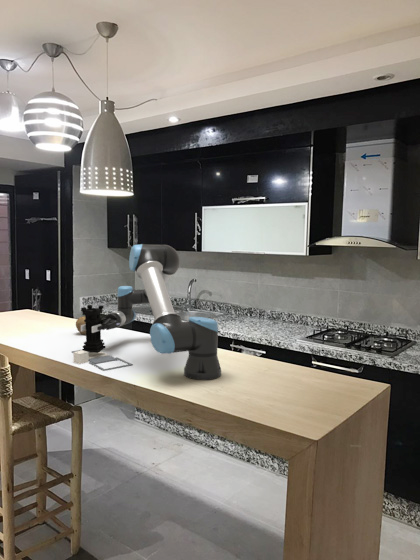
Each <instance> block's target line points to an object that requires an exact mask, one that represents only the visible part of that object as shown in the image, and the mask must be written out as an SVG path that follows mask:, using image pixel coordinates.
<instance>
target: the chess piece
mask: <svg viewBox="0 0 420 560" xmlns="http://www.w3.org/2000/svg"><path fill="white" fill-rule="evenodd" d="M103 309H104V305H98V307H93V305H92V304H87V306H86V307H84V306H83V307H81V308H80V311H81V312H82V316H85V320H84V322H86V334H85V341H83V344H84V345H83V346H82V349H81V350H83V351H87V352H94V353H98V352H100V351H101V352H102V351H103V350H104V349H106V348H107V346H106V345H105V344H106V343H105V342H104V339H101V338H102V335H101V334H102V333H101V331H102V330H100V331H97V332H94V333H92V326H96V325H98V324H100V320H101V319H102V317H101V314H102V313H103Z"/></svg>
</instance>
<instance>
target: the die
mask: <svg viewBox="0 0 420 560" xmlns="http://www.w3.org/2000/svg"><path fill="white" fill-rule="evenodd" d="M80 350H81V351H77V350H75V351H76V352H73V353H72V354H73V363H76V364H78V363H79V365H81V363H82V364H85V363H89V361H88V352H87V351H83V350H82V349H80Z"/></svg>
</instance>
